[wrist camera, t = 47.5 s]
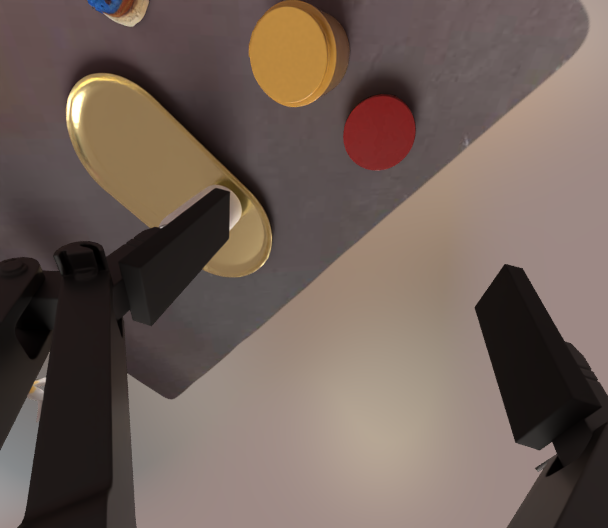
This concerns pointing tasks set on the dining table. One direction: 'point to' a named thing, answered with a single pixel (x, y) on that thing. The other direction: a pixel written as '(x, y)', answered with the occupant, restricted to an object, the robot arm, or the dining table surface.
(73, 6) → the dining table surface
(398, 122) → the jar lid
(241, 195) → the serving platter
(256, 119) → the dining table surface
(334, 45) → the jar
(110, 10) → the dessert
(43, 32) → the dining table surface
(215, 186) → the can
